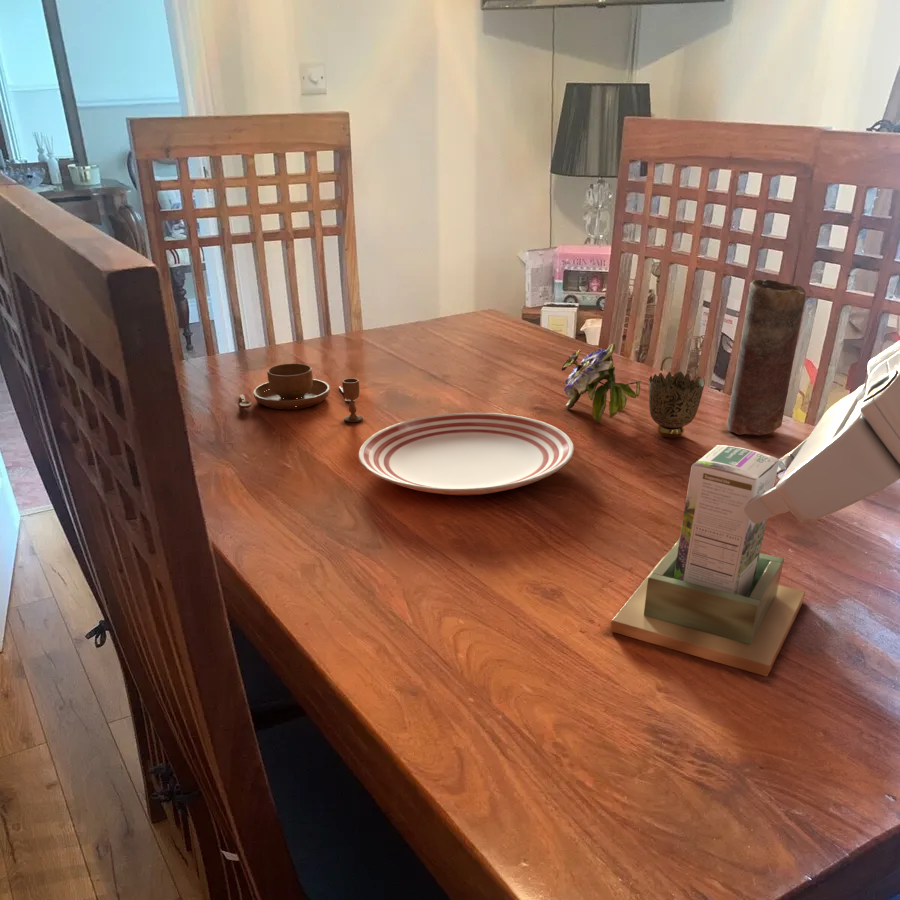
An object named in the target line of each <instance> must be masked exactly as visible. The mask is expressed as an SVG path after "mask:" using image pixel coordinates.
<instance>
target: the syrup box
mask: <svg viewBox="0 0 900 900" xmlns="http://www.w3.org/2000/svg"><path fill="white" fill-rule="evenodd" d="M779 461H780V460H779V458H777V457H775V456H773V455H769V454H766V453H763V452H761V451H756V450H752V449H749V448H744V447H739V446H733V445H726V444H716V445H715V446H714V447H713V448H712V449H711V450H709V451H708V452H706V453H705V454H704V455H702V457H700V458H699V459H698V460H696V462H694V463H693V464H692V465H691V468H690V473H689V478H688V485H687V492H686V498H685V504H684V509H683V516H682V517H683V518H682V522H681V529H680V535H679V539H680V541H679V547H678V554H677V560H676V567H675V572H674V579H677V580H681V581H685V582H689V583H693V584H697V585H701V586H705V587H709V588H713V589H717V590H721V591H725V592H729V593H733V594H737V595H740V596H744V597H748V598H749V597H750V595H751V592H752V587H753V583H754V578H755V573H756V569H757V564H758V559H759V554H760V553H761V550H762V545H763V541H764V535H765V530H766V527H767V523H768V519H766V520H764V521H763V522H761V523H758V524H756V523H753V522H752V521H751V520H750V518H749V517H748V516H747V514H746V513H745V512H744V508H745V506H746V505H747V503H748V502H749V501H750V499H752V498H753V497H756V496H757V495H758V494H760V493H762V492H763V491H768V490H770V489H772V488H773V487H775V482H776V478H777V469H778V465H779Z"/></svg>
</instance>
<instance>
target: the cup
mask: <svg viewBox="0 0 900 900" xmlns="http://www.w3.org/2000/svg"><path fill="white" fill-rule="evenodd" d="M705 381H706V380H705V378H702V379H701V377H700V376H697V377H696V378H695V380H694V379H690V374H689V373H686V374H685V375H684V373H683V372H682V371H678V372H676V373H675V374H673V375H672V373H671V372H670V371H668V372H667V373H666V375H665V376H664V374H663V373H662V372H659V373H658V374H657V373H655V374H653V376H652V375H649V378H648V406H649V414H650V418H652V420H653V421H654V423H656V424H657V425H658V426H657V428H656V430H657V433H658V435H659V436H661V437H663V438H666V439H676V438H680V437H682V435H683V434H684V432H685V427H686V426H687V425H689V424H690V423H692V422H693V421H694V419H695V417H696V416H697V413H698V410H699V407H700V403H701V400H702V396H703V392H704V388H705V384H706V383H705Z"/></svg>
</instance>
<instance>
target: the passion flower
mask: <svg viewBox="0 0 900 900" xmlns="http://www.w3.org/2000/svg"><path fill="white" fill-rule="evenodd" d="M615 349H616V343H611V344H609V346H608V347H607V349H604V347H601V348H598V349H597V350H596V349H595V350H594V351H591V352H590V353H587V354H586V356H584V355H583V356H582V360H581V361H580V363H579V362H578V358H579V355H580V353H582V349H581V348H579V349H578V350H576V351H574V352H573V353H572V354H571V355H569V357H568V359H567V360H566V361H564V363H563V365H562V367H561V368H560V369H561V370H560V371H561V372H562V371H565V370H566V369H567V368H568V367H570V366H572V365H575V366H574V367H573V369H572V372H571V373H570V374H569V375H568V377H566V378H565V380H564V382H565V386H564V388H563V391H564V394H565V396H566V397H568V401H567V403H566V404H565V406H564V407H565V408H566V409H572V408H573V407H575V405H576V403H577V402H578V401H579V400H580V398H581V396H582V395H584V394H586V393H588V394H587V396H588V398H589V400H590V401H591V402H592V417H593V420H595V421H597V422H598V424H601V423H602V417H603V414H604V412H605V410H606V407H607V398H608V397H607V393H608V391H609V402H608V403H609V404H608V406H609V408H608V411H609V419H612V418H613V417H615V416H616V415H617V414H618V413H621V412H622V411H623V410H624V409H625V407H626V405H627V401H628V397H629V398H632V399H637V397H639V396H640V391H641V383H642V380H638V381H633V382H629V383H623V382H616V374H615V370H616V367H615V366H614V358H613V353H614V351H615ZM604 380H606V381H605V383H604V382H602V381H604ZM599 384H601V385H599ZM635 384H636V386H635V388H636V390H635V391H634V390H633V389H632V387H630V385H635ZM598 385H599V386H598Z"/></svg>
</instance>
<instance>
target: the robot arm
mask: <svg viewBox="0 0 900 900" xmlns="http://www.w3.org/2000/svg"><path fill="white" fill-rule="evenodd" d="M866 373H867V380H866V382H864V383H862V384H861V385H860V386H858V388H857V389H855V390H854V391H852V392H851V393H849V394H847V395H846V396H843V397H842V398H841V399H839V400H838V401H836V402H835V403H834V404H832V405H831V406H830V407H829V408H827V410H826V411H825V412H824V413H823V415H822V417H821V418H820V419H819V421H818V422H817V424H816V425H815V427H814V429H813V430H812V432H810V435H809V436H808V437H806V438H805V439H804V440H803V441H802V442H800V443H799V444H798V445H797V446H796V447H795V448H794V449H792V450H791V451H790V452H788V453H786V454H785V455H783V456H781V457H780V458H778V460H780V461H779V465H778V469H777V474H776V476H777V477H778V479H779V480H778V482H777V483H776V485H774V487H773V488H772V489H770V490H768V491H763V492H762V493H760V494H758V495H757V496H756V497H753V498H752V499H750V501H749V502H748V503H747V505H746V506H745V508H744V512H745V513H746V514H747V516H748V517H749V518H750V520H751V521H752V522H753V523H756V524H758V523H761V522H763V521H764V520H766V519H767V520H768V519H769V518H771V517H773V516H777V515H781V514H784V513H788V512H791V514H793V515H794V517H795V518H796V519H797V520H798V521H799V522H801V523H808V522H814V521H818V520H820V519H824V518H826V517H828V516H830V515H832V514H834V513H837V512H839V511H841V510H843V509H845V508H847V507H849V506H851V505H854V504H856V503H858V502H860V501H862V500H864V499H866V498H869V497H870V496H873V495H875V494H876V493H879V492H880V491H882V490H885V489H886V488H888V487H890V486H892V485H893V484H895V483H896V482H898V481H899V480H900V339H899V340H897V342H895V343H893V344H892V345H891V346H889V347H887V348H886V349H884V350H883V351H881V352H880V353H878V354H877V355H875V356H874V357H872V358H870V360H869V361H868V362H867V366H866Z"/></svg>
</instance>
